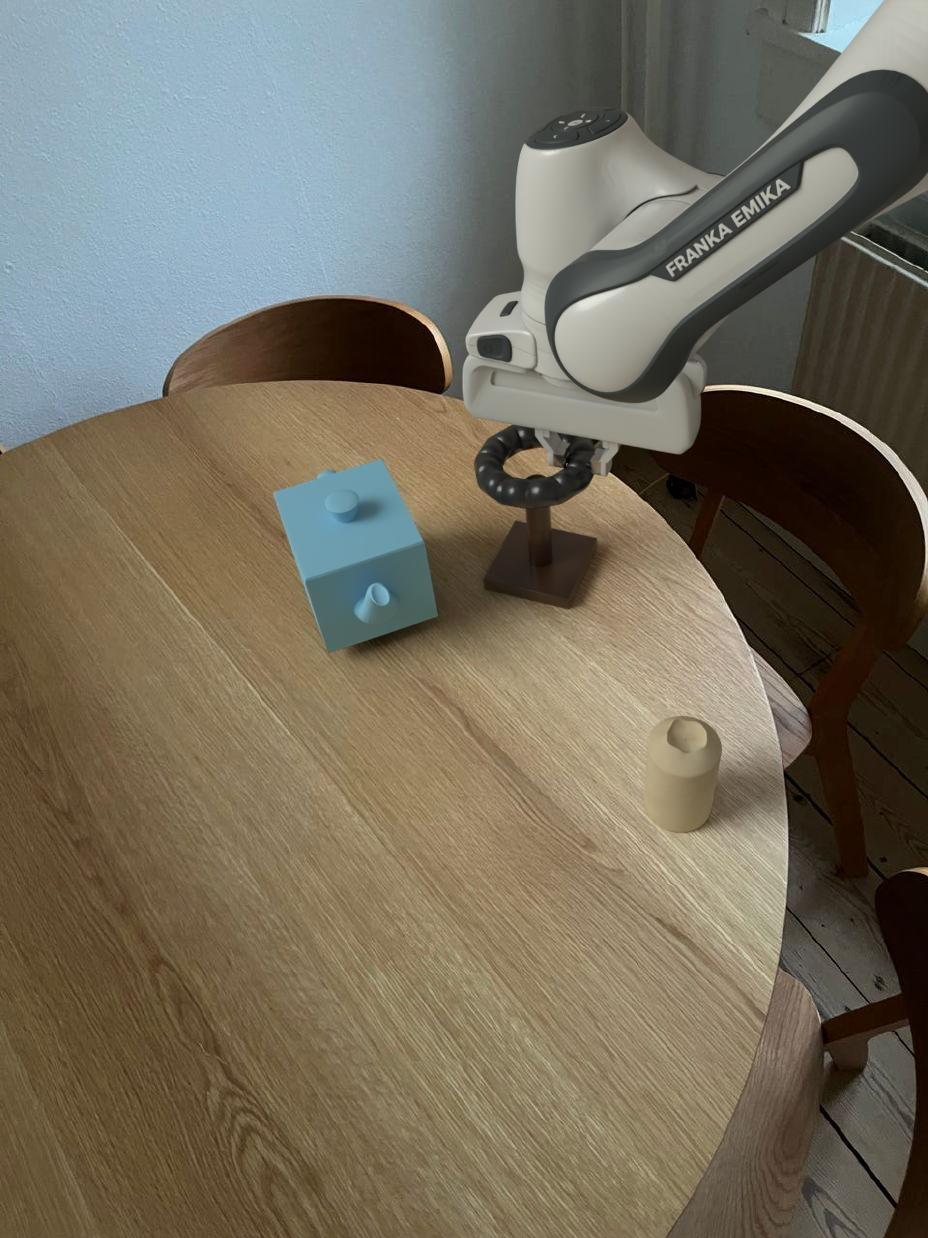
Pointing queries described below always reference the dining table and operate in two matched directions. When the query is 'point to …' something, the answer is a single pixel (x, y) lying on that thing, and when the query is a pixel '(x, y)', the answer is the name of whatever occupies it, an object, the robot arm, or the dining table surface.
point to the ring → (535, 490)
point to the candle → (681, 773)
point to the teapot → (357, 554)
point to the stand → (540, 560)
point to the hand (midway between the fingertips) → (579, 467)
